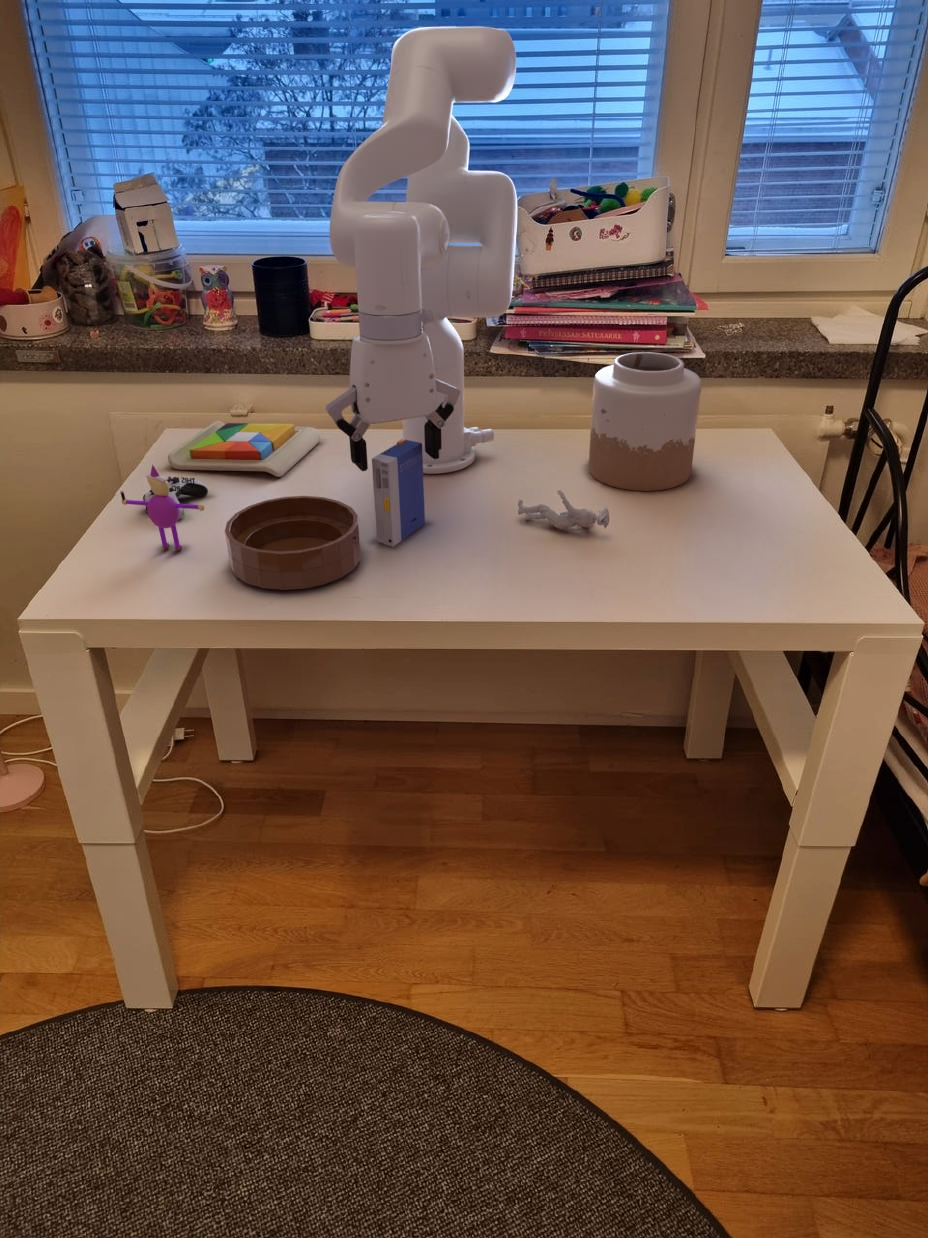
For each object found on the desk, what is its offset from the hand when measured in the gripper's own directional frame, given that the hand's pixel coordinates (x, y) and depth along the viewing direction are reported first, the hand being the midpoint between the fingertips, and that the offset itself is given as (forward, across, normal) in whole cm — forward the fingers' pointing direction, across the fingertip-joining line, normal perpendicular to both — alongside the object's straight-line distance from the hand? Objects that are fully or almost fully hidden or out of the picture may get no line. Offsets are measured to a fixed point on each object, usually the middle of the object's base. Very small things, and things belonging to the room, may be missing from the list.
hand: (397, 461), depth 123 cm
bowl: (+11, +15, +1) cm, 18 cm away
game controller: (+10, +26, -23) cm, 36 cm away
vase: (+10, -40, -5) cm, 42 cm away
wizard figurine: (+11, +29, -9) cm, 32 cm away
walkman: (+11, 0, -1) cm, 11 cm away
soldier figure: (+10, -20, +7) cm, 24 cm away
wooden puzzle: (+10, +12, -38) cm, 41 cm away
